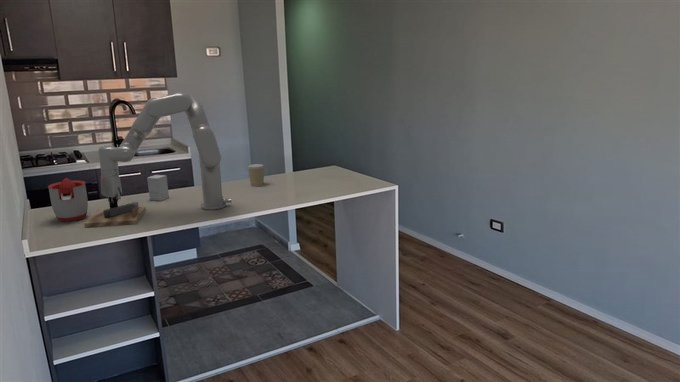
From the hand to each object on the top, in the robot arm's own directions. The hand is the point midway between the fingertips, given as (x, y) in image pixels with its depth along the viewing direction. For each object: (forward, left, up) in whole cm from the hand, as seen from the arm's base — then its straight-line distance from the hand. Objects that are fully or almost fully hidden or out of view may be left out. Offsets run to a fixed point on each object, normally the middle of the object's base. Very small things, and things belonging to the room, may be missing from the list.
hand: (114, 209), depth 229 cm
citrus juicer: (+20, -1, -4) cm, 20 cm away
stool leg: (-4, +1, -1) cm, 4 cm away
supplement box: (-15, -29, -4) cm, 33 cm away
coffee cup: (-68, -48, -4) cm, 84 cm away
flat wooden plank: (-1, +3, -4) cm, 5 cm away
